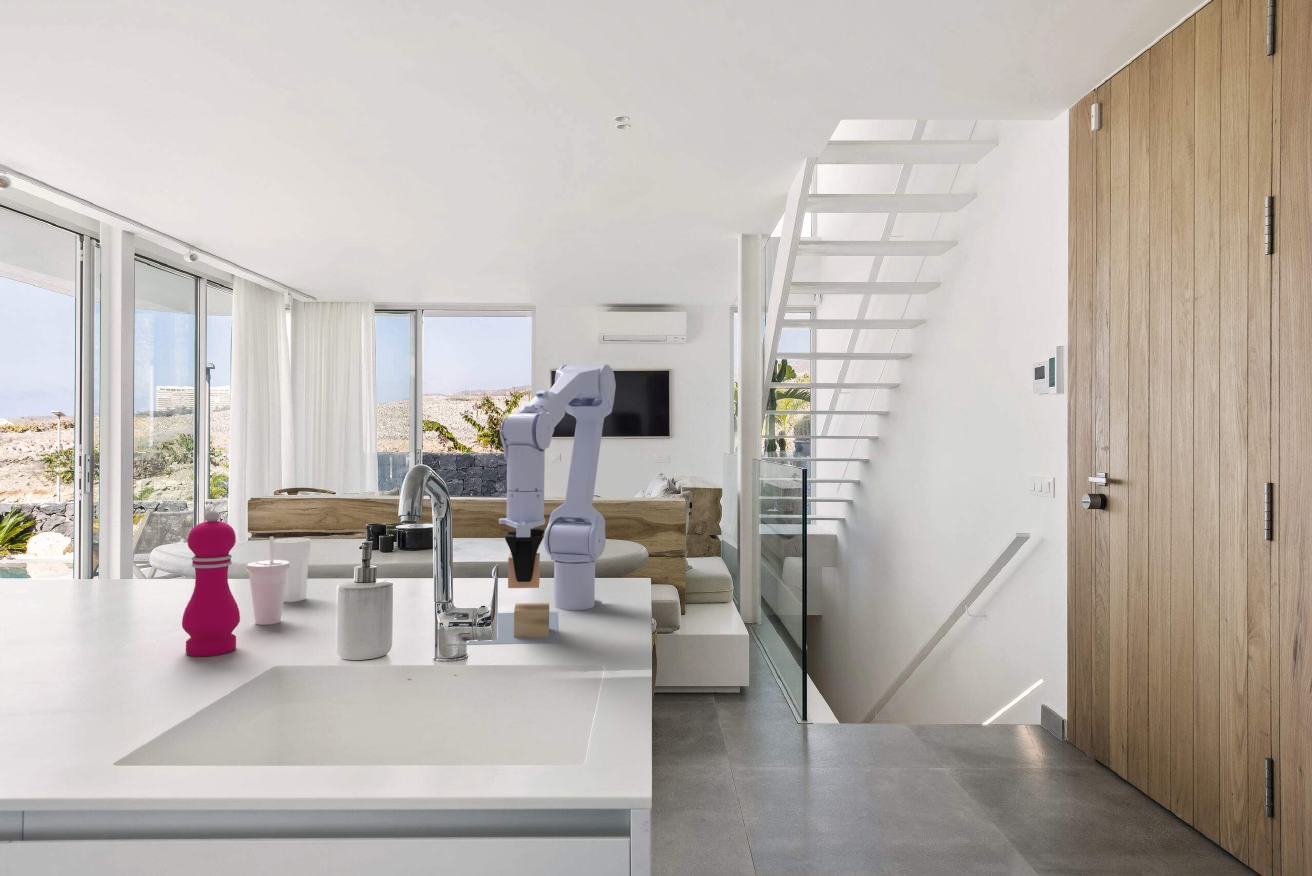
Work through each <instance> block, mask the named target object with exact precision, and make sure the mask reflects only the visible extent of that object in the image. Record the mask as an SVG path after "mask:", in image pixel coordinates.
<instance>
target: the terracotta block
mask: <svg viewBox="0 0 1312 876" xmlns="http://www.w3.org/2000/svg"><path fill="white" fill-rule="evenodd" d="M540 559H541V552H537V554H536V558H535V563H534V570H533V575H532V579H531V582H517V580H516V576H515V570H514V563H513V558H512V554H511V552H510V553H509V554H508V564H507V565H508V566H507V568H508V569H507V573H508V574H507V575H508V577H507V589H537V588H538V589H539V588H540V579H541V578H540V576H541V575H540V573H541V572H540V570H541V569H540V568H541V567H540V566H541V565H540V563H541V562H540V561H541V560H540Z"/></svg>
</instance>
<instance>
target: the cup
mask: <svg viewBox="0 0 1312 876" xmlns="http://www.w3.org/2000/svg"><path fill="white" fill-rule="evenodd" d="M310 553H311V538H308V537H307V538H306V537H287V538H286V537H284V538H276V539H274V544H273V560H284V561H288V562H290V568H289V569H288V571H287V578H286V585H285V592H284V600H283V603H295V602H296V603H297V602H301V601H304V600H306V599H307V588H308V570H309V558H310V555H311V554H310Z"/></svg>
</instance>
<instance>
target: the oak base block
mask: <svg viewBox="0 0 1312 876" xmlns="http://www.w3.org/2000/svg"><path fill="white" fill-rule="evenodd" d="M549 612H550V602H532V603H531V602H530V603H529V602H527V603H526V602H525V603H517V602H516V603H515V604H514V610H513V613H514V638H519V637H549Z"/></svg>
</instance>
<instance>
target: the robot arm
mask: <svg viewBox="0 0 1312 876" xmlns="http://www.w3.org/2000/svg"><path fill="white" fill-rule="evenodd" d="M616 386H617V384H616V378H615V373H614V371H613V369H612V367H611V365H609V364H602V365H601V364H600V365H567V364H562V365H560V366H559V367H558V368H557V369H556V371H555V377H554V383H553V385H552V386H551V388H550V389H549V390H537V391H536V393H535V396H534V397H533V398H532V399H531V400H530V401H529V402H528V403H527V404H526V405H525V406H524V407H523V408H522V409H520V411H519V412H511V413H509V414H508V415H507V416H505V417H504V418H503V420H502V422H501V425H500V430H499V437H500V442H501V443H500V444H501V445H502V448H503V458H504V461H506V517H505V518H504V517H501V518H499V519H498V524H500V525H507V526H509V527H512V528H513V529H512V530H508V531H507V534H505V536H504V539H505V542H506V544H507V546H508V548H509V551H510V553H511V554H512V558H513V563H514V570H515V576H516V580H517V582H531V579H532V575H533V570H534V563H535V558H536V554H537V553H538V550H539V547H540V546H541V544H542V542H543V545H544V549H545V551H546V552H547V554H548V556H550V560H551V561H554V565H553V570H554V571H553V572H554V573H553V575H554V576H553V577H554V578H553V607H554V608H556V609H558V610H563V611H582V610H589V609H592V608H594V607H595V604H596V603H595V602H596V600H595V599H596V598H595V597H596V596H595V595H596V581H595V580H596V560H598V559H599V558H600V557H601V556H602V555H603V553H604V551H605V547H606V538H607V537H606V520H605V518H604V516H603V515H602V513H600V512H599V510H598V509H596V508H595V507H594V506H593V503H594V494H595V488H596V479H597V473H598V464H599V457H600V451H601V450H600V449H601V443H602V435H603V428H604V423H605V422H604V420H605V418H606V417H607V416H609V415H611V413H612V411H613V407H614V403H615V395H616V394H615V393H616V388H617V387H616ZM566 414H568V415H571V416H572V417H574V418H575V420H576V424H575V429H574V430H575V431H574V437H573V445H572V452H571V459H570V467H569V471H568V477H567V478H568V480H567V485H566V492H565V498H564V499H565V500H564V503H562V504H561V505H560V506H558V507H557V508H555V509H554V510H553V511H552V512H551V513H550V516H549V519H548V524H547V526H546V528H545V529H544V528H537V527H540V526H541V527H542V526H544V525H545V524H546V518H545V468H546V467H545V466H546V465H545V462H546V461H545V455H546V454H545V452H546V449H548V448H550V445H551V442H552V438H553V435H554V432H555V427H556V426H557V425H558V424H559V423H560V422H561V421H562V419H563V418H564V417H565V415H566ZM514 528H515V529H514Z"/></svg>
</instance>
